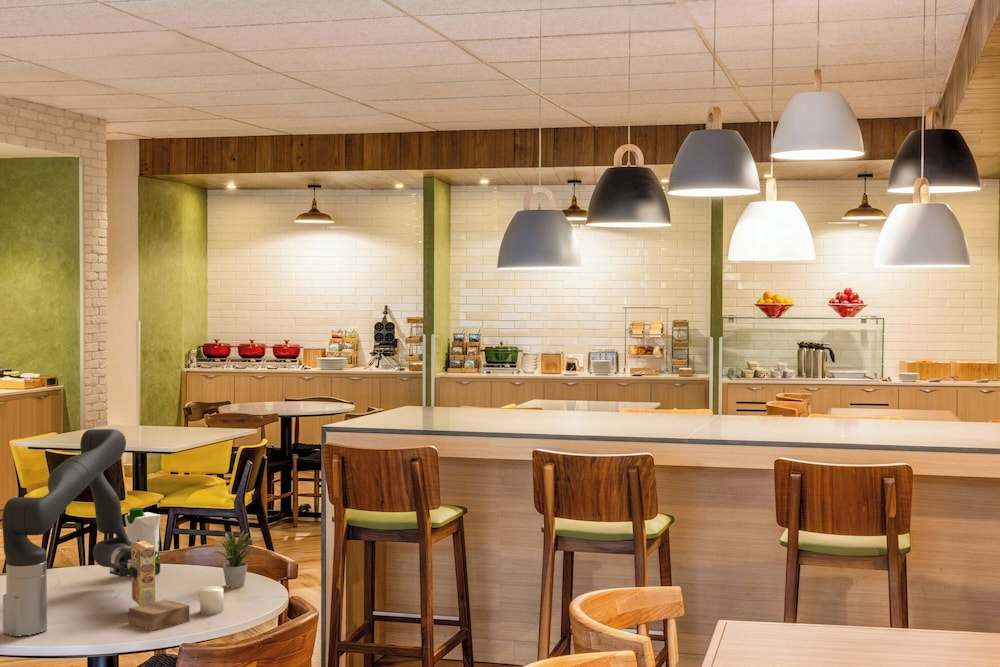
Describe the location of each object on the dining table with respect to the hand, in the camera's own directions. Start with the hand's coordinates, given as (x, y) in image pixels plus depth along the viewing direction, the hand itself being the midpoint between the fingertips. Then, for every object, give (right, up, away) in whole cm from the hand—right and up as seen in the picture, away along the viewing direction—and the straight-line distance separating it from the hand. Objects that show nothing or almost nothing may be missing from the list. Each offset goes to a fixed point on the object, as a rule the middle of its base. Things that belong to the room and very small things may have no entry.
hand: (145, 572), depth 297 cm
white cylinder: (+17, -11, +2) cm, 20 cm away
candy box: (-1, -8, +2) cm, 8 cm away
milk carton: (-15, -10, +45) cm, 48 cm away
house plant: (+17, -10, +29) cm, 35 cm away
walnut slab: (+6, -11, -8) cm, 15 cm away
